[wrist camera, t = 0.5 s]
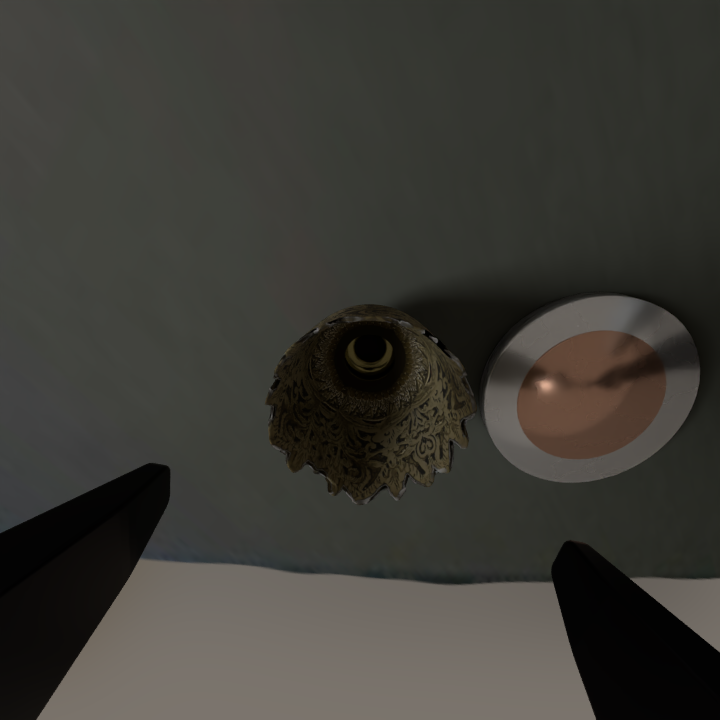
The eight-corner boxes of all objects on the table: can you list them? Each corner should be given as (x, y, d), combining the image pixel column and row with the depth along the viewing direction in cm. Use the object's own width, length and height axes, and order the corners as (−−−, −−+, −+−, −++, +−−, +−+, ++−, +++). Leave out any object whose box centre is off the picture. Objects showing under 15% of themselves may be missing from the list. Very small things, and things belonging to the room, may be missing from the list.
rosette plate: (722, 315, 19) (745, 321, 18) (626, 484, 23) (640, 498, 22) (517, 271, 19) (527, 275, 18) (455, 451, 23) (460, 464, 21)
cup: (276, 351, 21) (222, 426, 13) (363, 248, 19) (356, 269, 11) (375, 429, 22) (376, 535, 15) (466, 342, 20) (520, 415, 13)
